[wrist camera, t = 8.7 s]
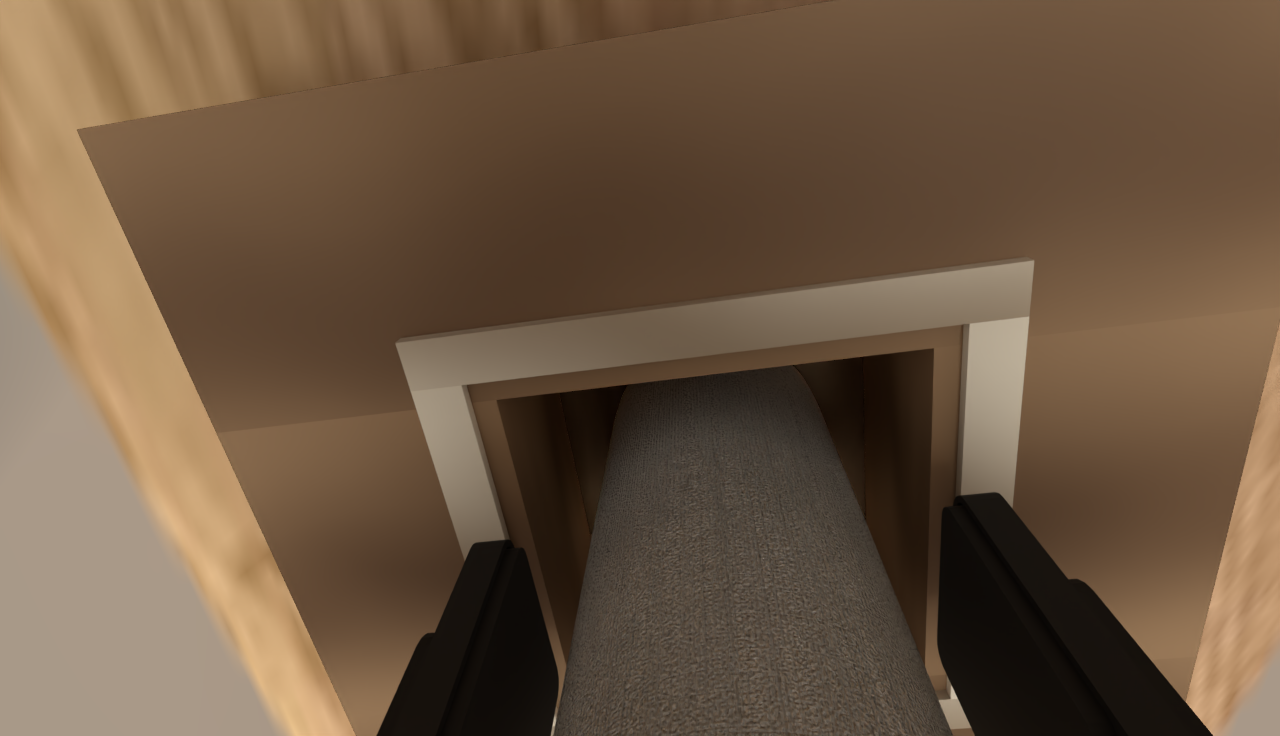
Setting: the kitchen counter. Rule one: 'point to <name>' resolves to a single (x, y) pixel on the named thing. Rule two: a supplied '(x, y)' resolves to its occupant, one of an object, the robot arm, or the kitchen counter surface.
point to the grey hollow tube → (736, 578)
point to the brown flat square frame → (736, 290)
